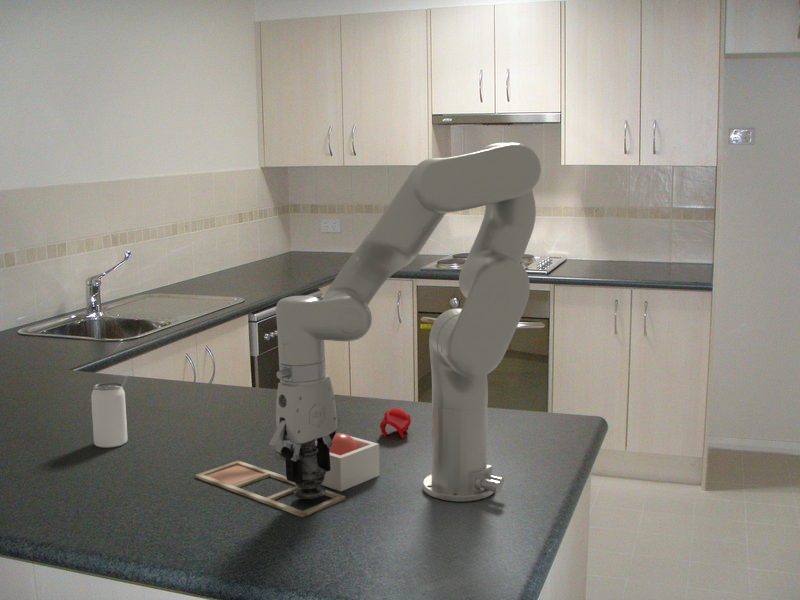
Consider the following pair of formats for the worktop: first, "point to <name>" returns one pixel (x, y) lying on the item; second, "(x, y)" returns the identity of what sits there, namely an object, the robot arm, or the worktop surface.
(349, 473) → the dome housing
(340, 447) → the pop dome
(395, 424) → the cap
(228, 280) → the worktop surface
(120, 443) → the can
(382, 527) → the worktop surface
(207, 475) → the game track
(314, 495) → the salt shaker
